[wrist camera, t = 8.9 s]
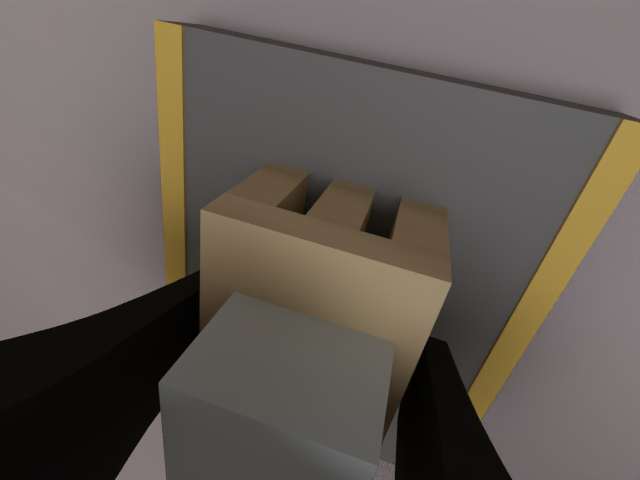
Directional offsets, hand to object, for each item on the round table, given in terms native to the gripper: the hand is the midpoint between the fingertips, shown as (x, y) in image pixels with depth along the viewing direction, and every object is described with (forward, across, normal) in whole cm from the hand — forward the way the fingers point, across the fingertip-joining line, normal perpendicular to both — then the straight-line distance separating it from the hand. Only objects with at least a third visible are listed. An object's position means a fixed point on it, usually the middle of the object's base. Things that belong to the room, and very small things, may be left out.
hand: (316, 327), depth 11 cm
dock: (+3, 0, 0) cm, 3 cm away
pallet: (+1, 0, 0) cm, 1 cm away
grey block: (-2, 0, 0) cm, 2 cm away
